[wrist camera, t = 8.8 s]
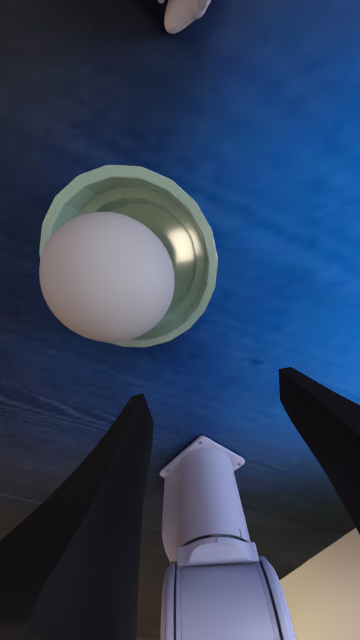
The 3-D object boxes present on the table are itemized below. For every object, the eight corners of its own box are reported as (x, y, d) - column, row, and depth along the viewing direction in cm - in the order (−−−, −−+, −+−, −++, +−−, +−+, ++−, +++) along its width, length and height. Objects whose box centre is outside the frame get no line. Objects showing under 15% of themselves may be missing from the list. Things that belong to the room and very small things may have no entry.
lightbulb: (95, 278, 18) (-16, 329, 8) (121, 210, 16) (17, 153, 6) (157, 308, 19) (133, 389, 9) (188, 248, 17) (204, 260, 7)
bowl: (157, 343, 21) (151, 372, 16) (54, 274, 18) (11, 285, 14) (233, 251, 18) (253, 255, 13) (121, 150, 15) (96, 109, 10)
